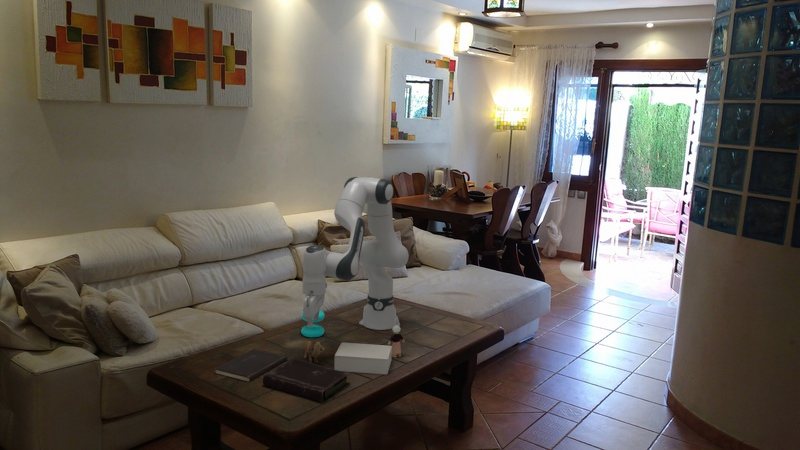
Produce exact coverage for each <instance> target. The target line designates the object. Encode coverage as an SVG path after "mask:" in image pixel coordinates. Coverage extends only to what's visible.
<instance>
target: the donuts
mask: <svg viewBox="0 0 800 450" xmlns="http://www.w3.org/2000/svg"><path fill="white" fill-rule="evenodd" d="M325 318H326V317H325V312H324V311H322V310H320V312H319V319H318V320H314V317H313V323H318V322H321V321H323V320H324V319H325ZM301 319H302V320H303V321H305V322H307V319H305V318H303V312H302V313H301ZM300 332H301V334H302V336H304V337H305V338H306V337H307V338H311V339H312V338H313V339H314V338H320V337H321V336H323V335H324V333H325V329H324V327H323V326H321V325H318V324H313V327H312V328H309V327H308V324H307V325H304V326H303V327H302V328H301V331H300Z"/></svg>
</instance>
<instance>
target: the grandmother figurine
mask: <svg viewBox="0 0 800 450" xmlns="http://www.w3.org/2000/svg"><path fill="white" fill-rule="evenodd" d="M391 330H392V333H393V335H391V336H390V338H389V339H388V342H387V346H392V358H397V357H402V354H401V353H402V349H401V343H403V344H404V343H405V342H406V341H405V339H404V336H403V335H402V334H400V332H401V331H402V330H401V326H400V327H399V326H398V325H395V326H394V327H393V328H391ZM391 343H392V345H391Z"/></svg>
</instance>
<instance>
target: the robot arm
mask: <svg viewBox="0 0 800 450" xmlns="http://www.w3.org/2000/svg"><path fill="white" fill-rule="evenodd" d="M394 190H395V189H394V186H393V183H392V182H391V180H388V179H386V178H377V177H371V176H369V177H363V176H361V177H358V176H353V177H350V178H348V179H347V180H346V181H345V183H344V186H343V190H342V192H341V193H340V195H339V197H338V200H337V203H336V204H335V207H334V217H335V220H336V222H337V223H338V224H339V225H341V226H342V227H343V228H345V229H346V230H348V231H349V232H350V236H349V241H348V245H347V250H346V251H345V252H344V253H340V252H334V251H330V250H327V249H326V248H325V246H324V245H320V244H315V245H313V244H311V245H310V246H308V247H306V248H305V250H304V253H303V260H302V271H303V277H302V287H301V288H302V294H304V295H305V297H304V299H303V300H304V301H303V306H302V307H303V309H302V313H303V318H305V319H307V321H306V322H307V325H308V327H309V328H312V327H313V325H314V322H313V317H314V320H318V319H319V312H320V311H321V308H322V307H323V306H324V302H325V299H326V297H325V296H326V292H327V286H328V285H327V278H326V276H327V277H330V278H335V279H339V280H343V281H345V282H350V281H351V280H352V279H354V278H355V277H356V276H357V274H358V273H359V270H360V263H361V264H362V266H363V267H364V270H365V272H366V275H367V278H368V281H367V283H368V294H367V296H366V297H367V298H366V301H367V304H366V305H364V306H363V315H362V319H361V320H359V323H358V324H359V325H361V326H364V327H365V328H368V329H371V330H378V331H383V330H392V329H393V327H394V326H395V325H398V326H399V327H400V328H401V323H400V319H399V317H398V315H397V309H396V307H395V305H394V302H395V301H394V300H395V298H394V295H393V293H394V291H393V290H394V279H393V277H392V276H391V275H390V274H389V273H388V272H387V271H386V270H385V269H386V268H388V269H389V268H390V269H401V268H404V267H405V266H406V265H407V263H408V262H409V257H410V255H409V251H408V248H407V247H405V246H404V245H403V244H402V243H401V241H400V240H399V238H398V236H397V234H396V231H395V228H394V219H393V207H392V206H393V204H392V199H393V198H394V192H395V191H394ZM366 204H367V208H366V209H367V210H366V213H367V215H366V216H367V229H368V231H369V234H371V235H372V236H373V237H375V239H376V240H373V239H367V240H364V237H365V229H366V224H365V220H364V219H363V217H362V216H363V213H364V209H365V206H366Z"/></svg>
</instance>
